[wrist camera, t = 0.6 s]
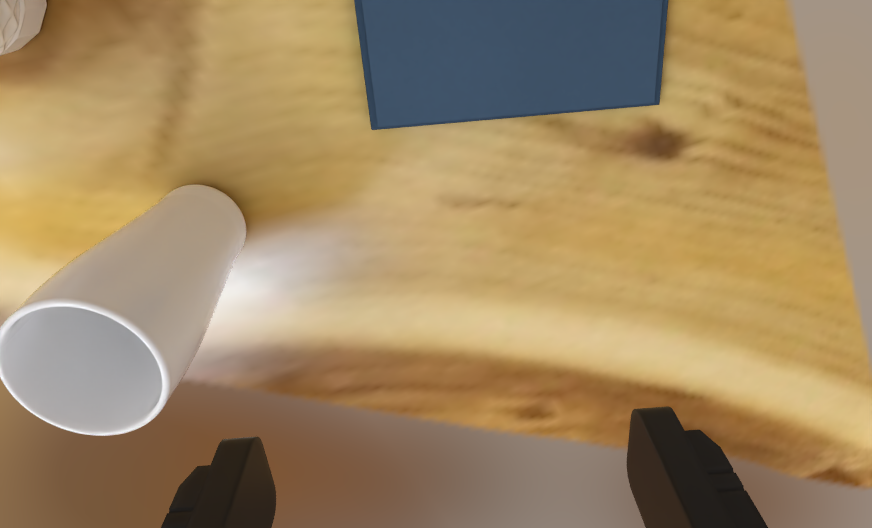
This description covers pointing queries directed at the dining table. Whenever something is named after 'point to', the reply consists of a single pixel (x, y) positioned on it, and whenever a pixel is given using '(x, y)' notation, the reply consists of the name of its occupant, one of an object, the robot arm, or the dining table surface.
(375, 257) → the dining table surface
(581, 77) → the blue flat rectangular block
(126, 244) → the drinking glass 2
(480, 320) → the dining table surface
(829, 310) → the dining table surface
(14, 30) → the white cup
